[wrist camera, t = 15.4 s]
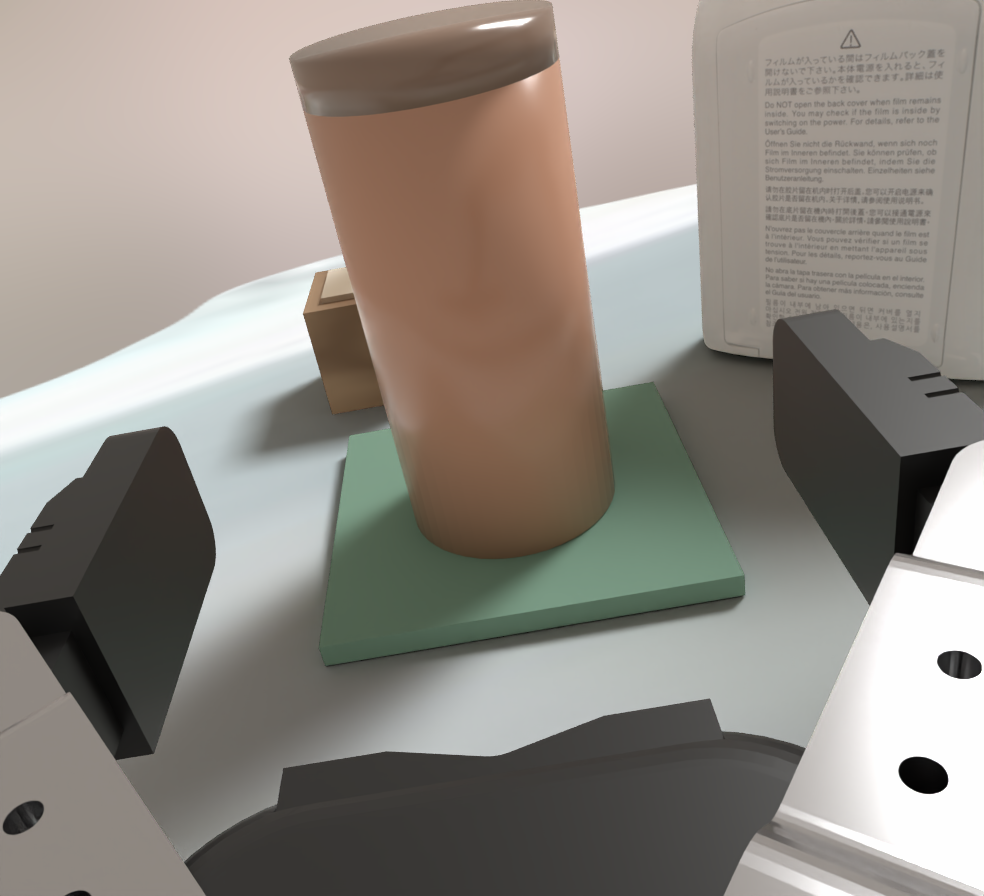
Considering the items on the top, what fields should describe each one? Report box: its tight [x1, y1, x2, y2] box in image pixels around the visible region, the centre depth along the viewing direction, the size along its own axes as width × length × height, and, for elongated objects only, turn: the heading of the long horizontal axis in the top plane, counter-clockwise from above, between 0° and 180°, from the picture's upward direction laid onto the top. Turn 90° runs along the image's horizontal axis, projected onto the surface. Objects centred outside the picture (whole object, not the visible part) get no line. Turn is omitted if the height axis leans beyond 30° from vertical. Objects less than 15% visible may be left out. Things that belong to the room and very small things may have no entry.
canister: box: [289, 0, 615, 559], centre depth 23 cm, size 6×6×12 cm
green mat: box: [319, 382, 745, 666], centre depth 26 cm, size 10×10×1 cm
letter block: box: [303, 267, 384, 414], centre depth 34 cm, size 4×4×4 cm
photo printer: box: [692, 0, 984, 380], centre depth 28 cm, size 10×4×12 cm, turn 59°
